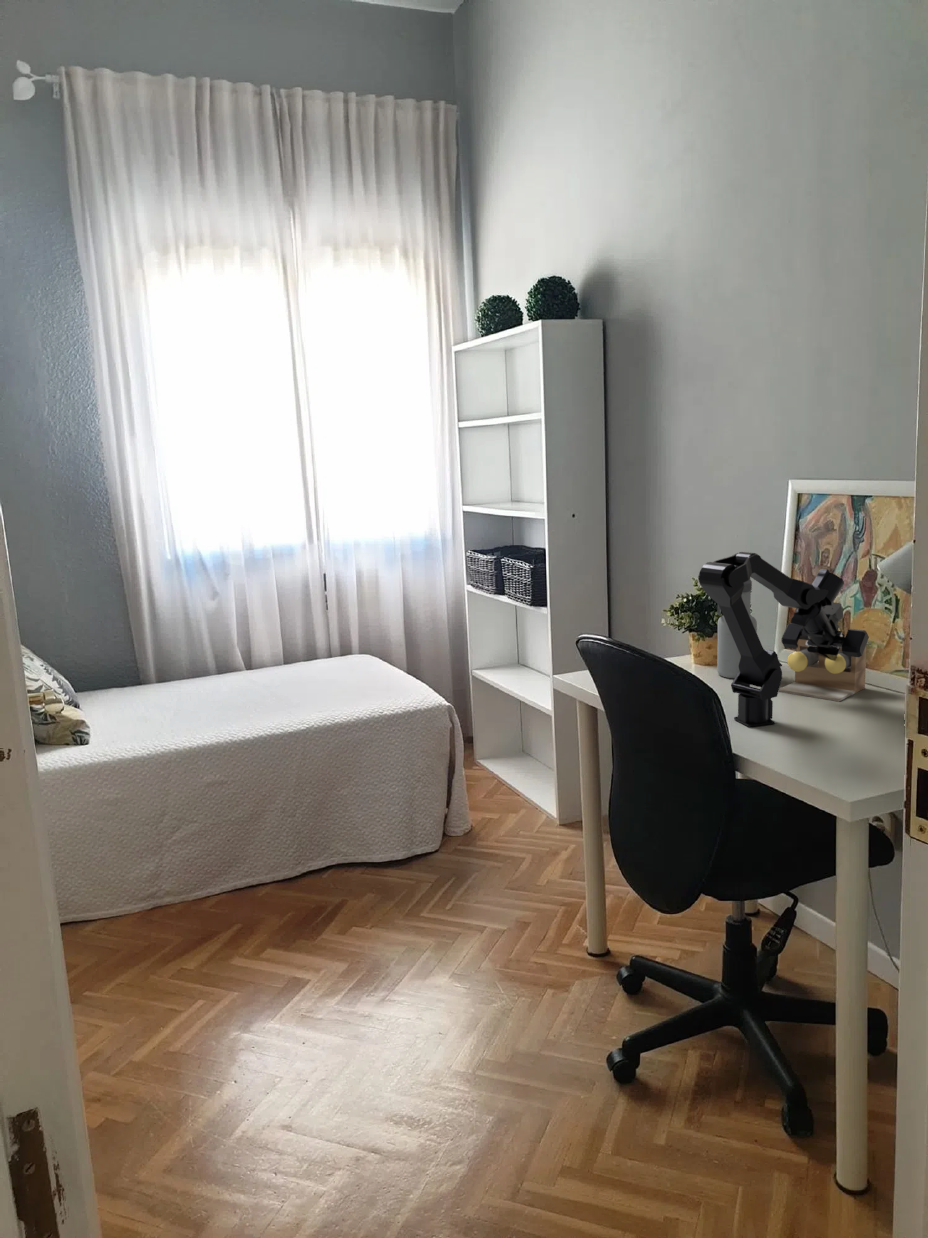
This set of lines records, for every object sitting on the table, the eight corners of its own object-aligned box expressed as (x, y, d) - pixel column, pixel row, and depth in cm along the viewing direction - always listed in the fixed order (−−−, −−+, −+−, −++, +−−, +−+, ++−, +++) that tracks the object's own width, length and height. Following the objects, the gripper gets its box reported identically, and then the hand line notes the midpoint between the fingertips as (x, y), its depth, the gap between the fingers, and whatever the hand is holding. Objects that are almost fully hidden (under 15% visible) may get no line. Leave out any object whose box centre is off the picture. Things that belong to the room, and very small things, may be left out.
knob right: (844, 675, 226) (844, 655, 225) (824, 672, 229) (825, 652, 228) (858, 668, 231) (858, 649, 230) (838, 666, 235) (839, 646, 234)
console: (839, 701, 223) (840, 644, 220) (778, 691, 233) (779, 636, 231) (864, 688, 233) (866, 633, 230) (805, 679, 243) (807, 626, 241)
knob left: (806, 673, 229) (806, 653, 229) (787, 670, 233) (787, 650, 232) (820, 666, 235) (821, 647, 234) (801, 663, 238) (802, 645, 237)
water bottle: (714, 678, 248) (715, 571, 242) (716, 669, 257) (717, 566, 251) (755, 680, 245) (757, 571, 239) (756, 670, 254) (757, 566, 248)
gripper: (866, 596, 213) (885, 635, 223) (787, 589, 226) (808, 627, 236) (850, 636, 209) (870, 675, 219) (771, 627, 222) (792, 664, 232)
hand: (834, 658), depth 227 cm, fingers closed, pressing on knob right
